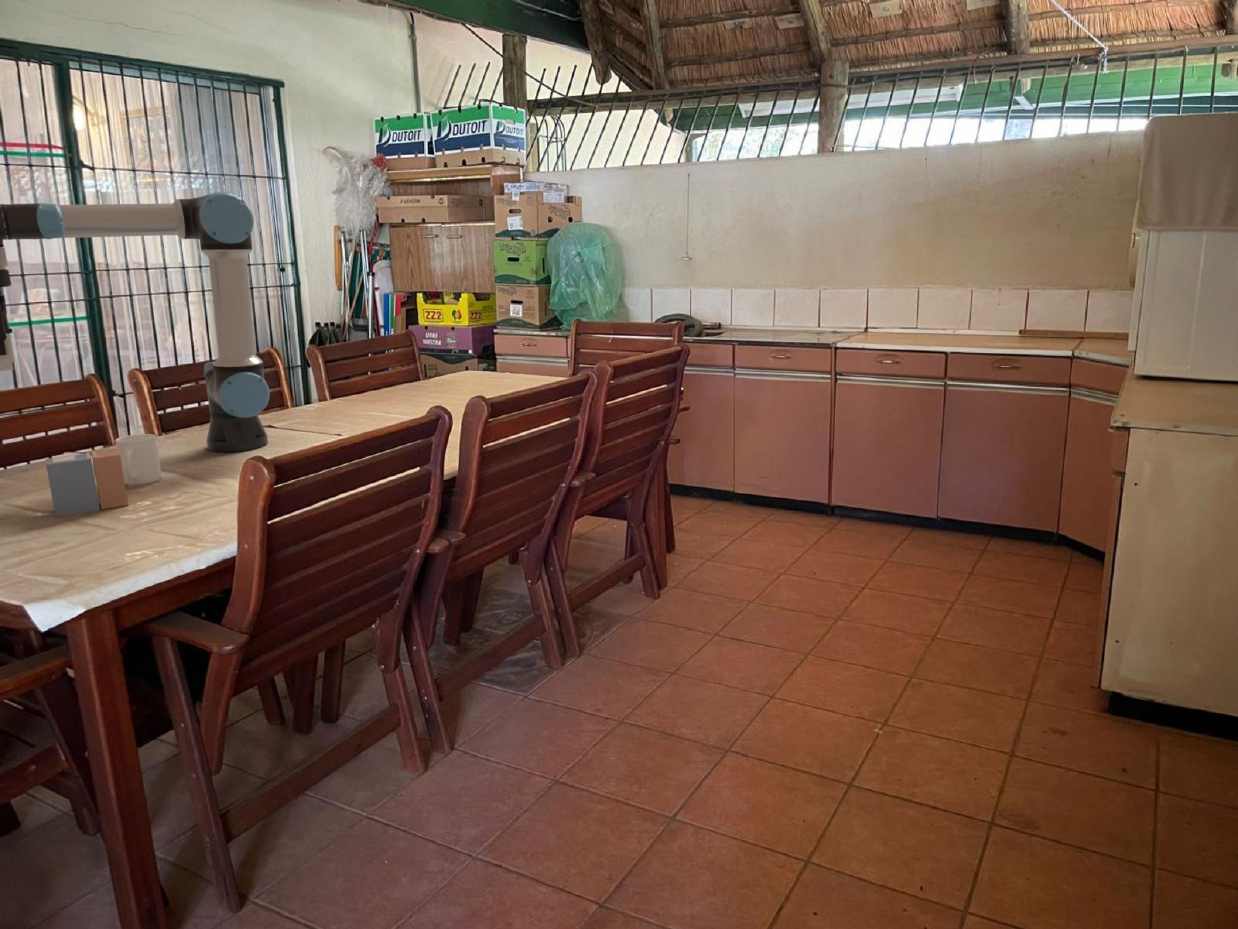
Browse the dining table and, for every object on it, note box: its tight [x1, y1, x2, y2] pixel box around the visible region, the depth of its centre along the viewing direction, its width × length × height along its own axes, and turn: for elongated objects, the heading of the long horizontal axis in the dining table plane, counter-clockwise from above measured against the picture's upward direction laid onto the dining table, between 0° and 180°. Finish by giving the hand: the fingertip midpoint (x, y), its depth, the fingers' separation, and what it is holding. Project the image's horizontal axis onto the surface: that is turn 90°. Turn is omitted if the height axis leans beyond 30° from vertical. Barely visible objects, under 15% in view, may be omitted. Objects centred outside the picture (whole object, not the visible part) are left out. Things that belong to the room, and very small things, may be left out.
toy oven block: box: [45, 452, 101, 518], centre depth 192 cm, size 8×6×11 cm
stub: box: [91, 448, 129, 510], centre depth 195 cm, size 5×6×11 cm
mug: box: [114, 433, 162, 486], centre depth 212 cm, size 12×8×10 cm
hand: (7, 366), depth 205 cm, fingers open, 13 cm apart
